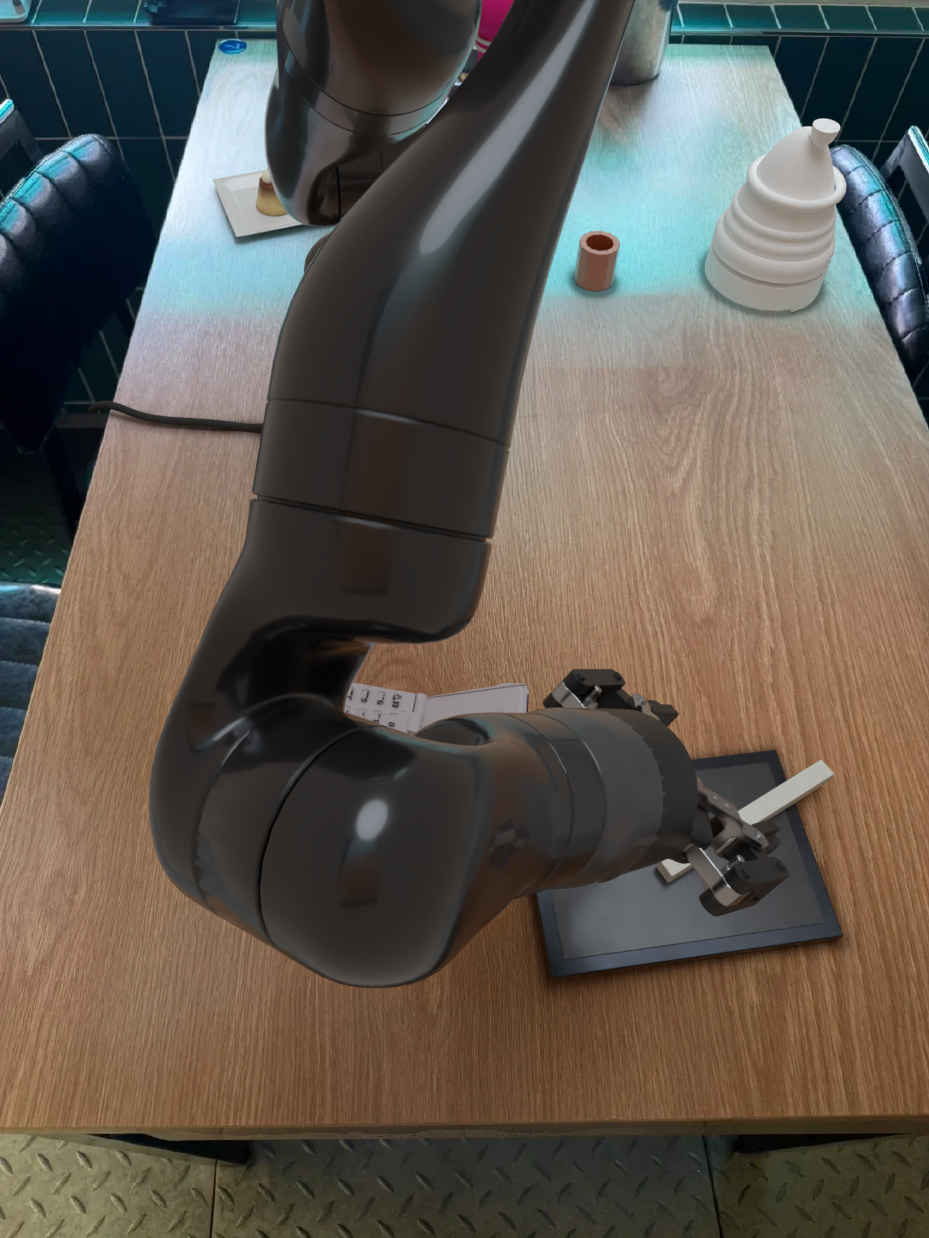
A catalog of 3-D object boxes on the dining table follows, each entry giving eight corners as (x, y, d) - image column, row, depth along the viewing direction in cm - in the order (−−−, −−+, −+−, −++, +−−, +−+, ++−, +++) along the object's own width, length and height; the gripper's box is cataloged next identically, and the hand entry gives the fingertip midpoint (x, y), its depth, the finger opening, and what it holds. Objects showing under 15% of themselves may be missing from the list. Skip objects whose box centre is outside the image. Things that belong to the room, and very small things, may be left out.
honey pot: (842, 299, 104) (911, 138, 89) (741, 325, 101) (795, 162, 86) (779, 233, 110) (833, 73, 96) (682, 255, 107) (722, 93, 93)
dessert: (311, 170, 115) (307, 131, 111) (340, 225, 109) (337, 186, 105) (214, 188, 112) (206, 149, 108) (238, 245, 106) (230, 206, 102)
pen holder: (578, 296, 103) (584, 255, 99) (570, 272, 105) (576, 232, 101) (616, 293, 103) (623, 253, 99) (607, 270, 106) (614, 229, 101)
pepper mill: (454, 137, 120) (458, -42, 104) (508, 130, 122) (520, -49, 105) (471, 168, 116) (478, -14, 100) (527, 159, 118) (542, -21, 101)
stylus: (659, 859, 64) (821, 758, 69) (655, 866, 66) (815, 766, 70) (671, 876, 64) (835, 773, 68) (667, 883, 65) (828, 781, 70)
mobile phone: (523, 754, 65) (168, 704, 66) (516, 791, 70) (185, 744, 71) (531, 680, 68) (194, 634, 70) (524, 720, 73) (209, 677, 74)
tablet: (550, 981, 62) (551, 977, 61) (513, 786, 70) (514, 780, 69) (838, 940, 64) (844, 935, 63) (772, 754, 72) (776, 748, 71)
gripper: (754, 874, 37) (851, 833, 50) (539, 619, 43) (676, 643, 57) (625, 984, 40) (750, 918, 53) (441, 729, 46) (594, 727, 59)
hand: (712, 775), depth 55 cm, fingers open, 8 cm apart
